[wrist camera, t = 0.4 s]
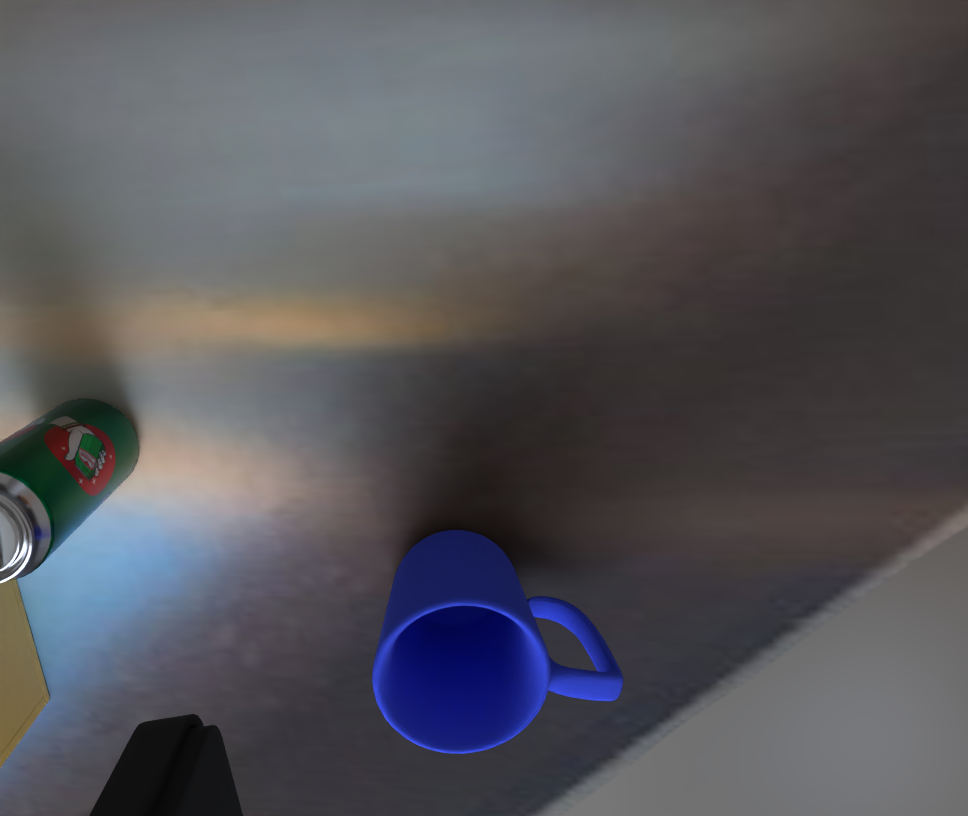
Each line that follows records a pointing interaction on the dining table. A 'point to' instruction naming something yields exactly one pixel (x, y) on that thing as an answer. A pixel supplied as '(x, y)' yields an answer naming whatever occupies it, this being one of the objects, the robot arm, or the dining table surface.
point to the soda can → (59, 478)
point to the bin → (17, 671)
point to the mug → (474, 648)
